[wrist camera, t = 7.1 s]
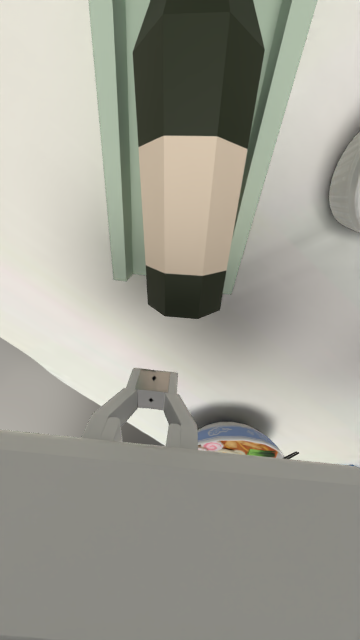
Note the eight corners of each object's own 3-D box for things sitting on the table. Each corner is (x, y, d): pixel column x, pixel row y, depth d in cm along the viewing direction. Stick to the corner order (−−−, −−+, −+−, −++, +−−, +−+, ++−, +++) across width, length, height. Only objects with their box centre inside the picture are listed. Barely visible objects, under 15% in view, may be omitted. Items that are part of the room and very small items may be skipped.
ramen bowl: (211, 386, 35) (216, 429, 28) (297, 418, 40) (320, 462, 33) (162, 438, 48) (157, 477, 41) (232, 458, 52) (239, 496, 45)
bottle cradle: (393, -342, 8) (513, -668, 5) (226, 284, 24) (231, 294, 21) (83, -407, 8) (17, -793, 5) (123, 270, 24) (113, 279, 21)
